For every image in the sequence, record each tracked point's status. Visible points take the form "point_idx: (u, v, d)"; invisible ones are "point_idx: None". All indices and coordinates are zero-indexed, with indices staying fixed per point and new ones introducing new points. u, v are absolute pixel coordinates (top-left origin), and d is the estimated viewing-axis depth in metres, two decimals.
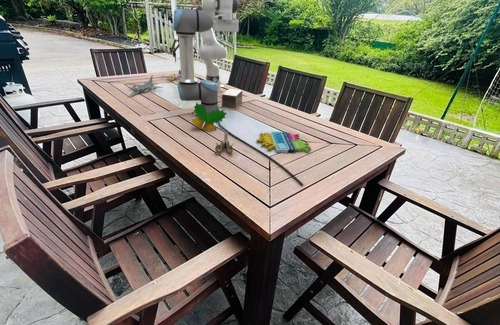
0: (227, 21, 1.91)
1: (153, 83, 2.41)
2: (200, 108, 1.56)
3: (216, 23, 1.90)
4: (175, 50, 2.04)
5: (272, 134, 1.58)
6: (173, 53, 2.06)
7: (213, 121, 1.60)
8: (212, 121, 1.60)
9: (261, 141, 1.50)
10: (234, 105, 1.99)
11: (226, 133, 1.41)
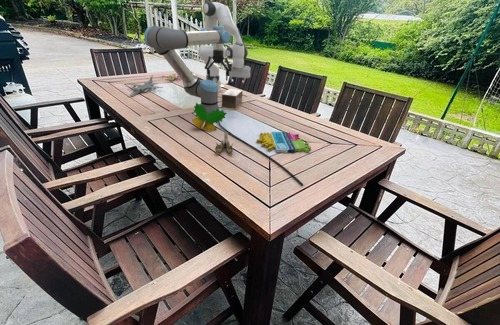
0: (237, 68, 2.07)
1: (153, 83, 2.41)
2: (200, 108, 1.56)
3: None
4: (209, 67, 1.95)
5: (272, 134, 1.58)
6: (207, 70, 1.97)
7: (213, 121, 1.60)
8: (212, 121, 1.60)
9: (261, 141, 1.50)
10: (234, 105, 1.99)
11: (226, 133, 1.41)
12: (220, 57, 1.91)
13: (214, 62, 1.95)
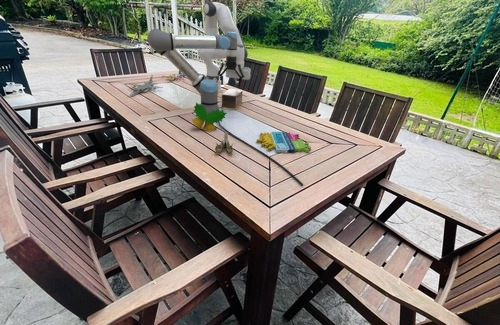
0: None
1: (153, 83, 2.41)
2: (200, 108, 1.56)
3: (227, 71, 2.11)
4: (222, 73, 1.93)
5: (272, 134, 1.58)
6: (220, 76, 1.94)
7: (213, 121, 1.60)
8: (212, 121, 1.60)
9: (261, 141, 1.50)
10: (234, 105, 1.99)
11: (226, 133, 1.41)
12: (233, 64, 1.88)
13: (227, 68, 1.91)
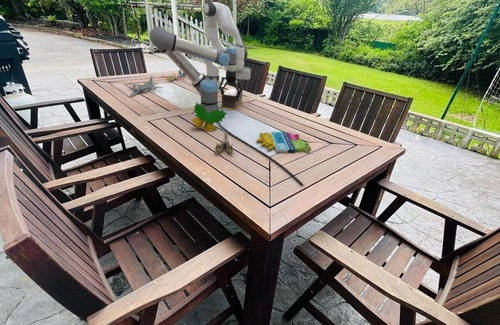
0: (237, 70, 2.08)
1: (153, 83, 2.41)
2: (200, 108, 1.56)
3: None
4: (223, 88, 1.98)
5: (272, 134, 1.58)
6: (221, 91, 1.99)
7: (213, 121, 1.60)
8: (212, 121, 1.60)
9: (261, 141, 1.50)
10: (234, 105, 1.99)
11: (226, 133, 1.41)
12: (233, 78, 1.92)
13: (227, 82, 1.96)
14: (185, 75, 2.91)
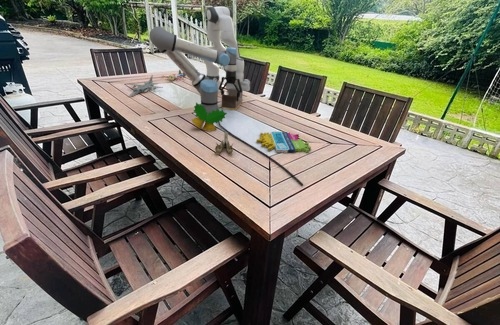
0: (237, 82, 2.14)
1: (153, 83, 2.41)
2: (200, 108, 1.56)
3: None
4: (223, 88, 1.98)
5: (272, 134, 1.58)
6: (221, 91, 2.00)
7: (213, 121, 1.60)
8: (212, 121, 1.60)
9: (261, 141, 1.50)
10: (234, 105, 1.99)
11: (226, 133, 1.41)
12: (233, 78, 1.92)
13: (227, 82, 1.96)
14: (185, 75, 2.91)
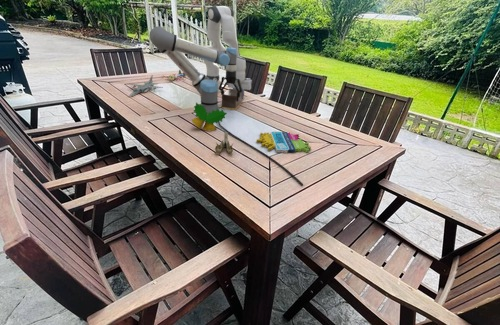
0: None
1: (153, 83, 2.41)
2: (200, 108, 1.56)
3: None
4: (223, 88, 1.98)
5: (272, 134, 1.58)
6: (221, 91, 2.00)
7: (213, 121, 1.60)
8: (212, 121, 1.60)
9: (261, 141, 1.50)
10: (234, 105, 1.99)
11: (226, 133, 1.41)
12: (233, 78, 1.92)
13: (227, 82, 1.96)
14: (185, 75, 2.91)
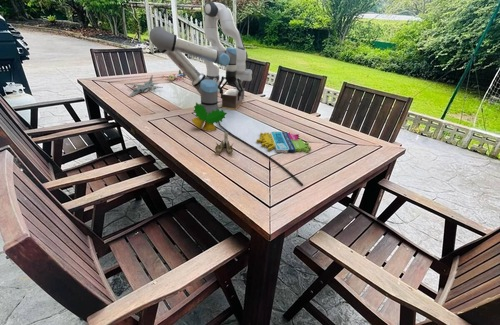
0: (239, 72, 2.14)
1: (153, 83, 2.41)
2: (200, 108, 1.56)
3: None
4: (222, 87, 1.97)
5: (272, 134, 1.58)
6: (220, 90, 1.99)
7: (213, 121, 1.60)
8: (212, 121, 1.60)
9: (261, 141, 1.50)
10: (234, 105, 1.99)
11: (226, 133, 1.41)
12: (232, 78, 1.92)
13: (227, 82, 1.96)
14: (185, 75, 2.91)
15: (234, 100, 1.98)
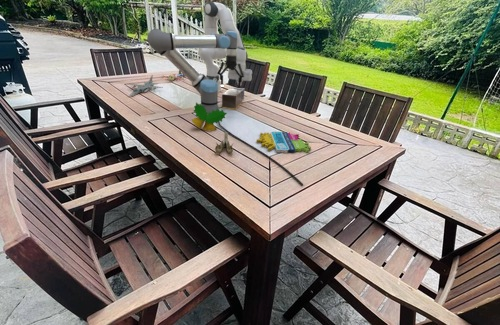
0: None
1: (153, 83, 2.41)
2: (200, 108, 1.56)
3: (229, 73, 2.17)
4: (222, 73, 1.92)
5: (272, 134, 1.58)
6: (220, 76, 1.94)
7: (213, 121, 1.60)
8: (212, 121, 1.60)
9: (261, 141, 1.50)
10: (234, 105, 1.99)
11: (226, 133, 1.41)
12: (233, 63, 1.87)
13: (227, 68, 1.91)
14: None
15: (234, 100, 1.98)
